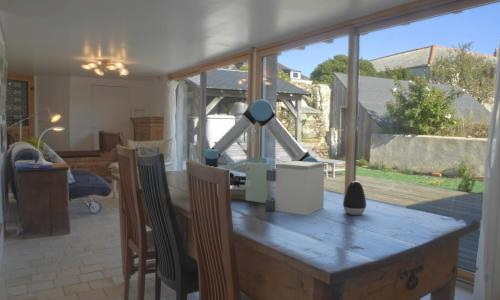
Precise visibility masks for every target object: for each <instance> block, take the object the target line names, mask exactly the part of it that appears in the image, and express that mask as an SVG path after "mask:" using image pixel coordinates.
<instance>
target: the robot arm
mask: <svg viewBox="0 0 500 300" xmlns="http://www.w3.org/2000/svg"><path fill="white" fill-rule="evenodd" d="M277 114H278V113H277V112H276V111H275V110H274V109H273V106H272V104H271V103H270V102H269V101H268V100H266V99H261V98H260V99H256V100H255V101H253V102H251V103H250V104H249V106H248V107H247V108H246V110H245V111H244V112H243V113H242V114H241V117H240V118H239V119H238V120H237V122H236V123H234V124H233V125H232V126H231V127H230V129H229V130H228V131H227V132H226V133H225V134H224V135H223V136H221V137H220V138H219V140H217V142H216V143H215V144H214V145H213V146H212V147H211V148H210V149H206V150H205V151H204V166H205V165H209V166H214V167H218V168H219V159H220V158H221V157H222V156H223V155H224V154H225V153H226V151H228V150H229V149H230V148H231V147H232V146H233V145H234V144H235V143H236V142H237V141H238V140H239V139H240V138H241V137H242V136H243V135H244V134H245V133H246V131H247V130H249V128H251V127H254V126H255V125H256V124H258V125H259V126H260V127H261V128H265V130H267V132H268V133H269V134H270V136H272V138H273V139H274V140H275V141H276V142H277V143H278V144H279V145H278V146H280V147H281V148H282V149H283V151H284V152H285V153H286V154H287V155H288V156H289V157H290V159H291V161H304V162H318V163H320V161H319V160H318V159H317V158H316V157H314V156H313V155H312V154H311V153H310V152H309V151H308V149H304V148H303V147H302V146H301V145H300V144H299V143H298V142H297V140H296V139H295V138H294V137H293V136H292V134H290V131H288V130H287V129H286V127H285V126H284V125H283V124H282V122H281V121H280V120H279V119H278V118H277V117H278V115H277ZM291 161H290V162H291ZM229 172H230V185H231V186H234V187H235V186H236V187H237V188H238V187H240V186H242V187H246V186H249V187H251V181H246V175H245V176H244V175H235V174H234V172H232V171H229Z"/></svg>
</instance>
